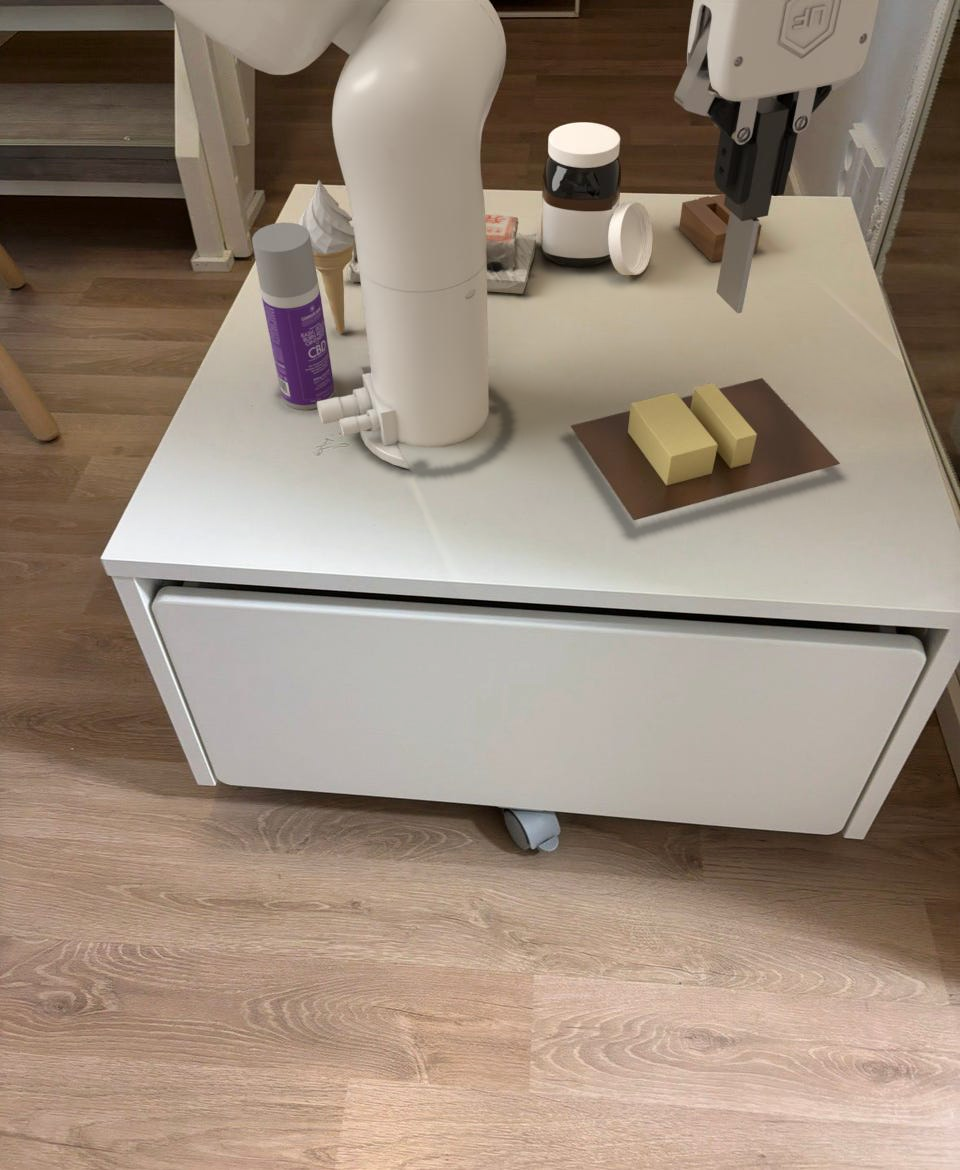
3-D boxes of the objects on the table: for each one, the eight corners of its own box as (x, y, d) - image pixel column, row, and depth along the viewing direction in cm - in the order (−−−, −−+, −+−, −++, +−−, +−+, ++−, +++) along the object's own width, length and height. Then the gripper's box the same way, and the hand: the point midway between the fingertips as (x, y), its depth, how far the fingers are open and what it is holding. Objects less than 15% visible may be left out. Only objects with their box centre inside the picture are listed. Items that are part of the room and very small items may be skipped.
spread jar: (543, 224, 110) (546, 113, 101) (649, 227, 109) (662, 116, 100) (536, 284, 102) (539, 170, 93) (651, 289, 101) (665, 174, 92)
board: (631, 534, 78) (633, 520, 77) (569, 439, 86) (570, 425, 84) (836, 477, 82) (840, 463, 81) (759, 391, 89) (762, 377, 88)
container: (325, 412, 88) (300, 254, 77) (274, 407, 89) (241, 249, 78) (341, 380, 92) (318, 224, 80) (291, 375, 92) (262, 219, 81)
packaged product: (340, 240, 99) (364, 190, 105) (346, 284, 102) (369, 234, 109) (526, 251, 96) (538, 200, 103) (525, 297, 100) (537, 245, 107)
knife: (727, 316, 72) (763, 116, 62) (706, 294, 74) (738, 97, 64) (752, 310, 73) (792, 110, 63) (730, 288, 75) (766, 91, 64)
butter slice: (730, 469, 80) (736, 439, 78) (688, 416, 85) (693, 387, 83) (750, 463, 81) (757, 433, 79) (708, 411, 85) (713, 382, 83)
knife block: (712, 263, 104) (717, 236, 101) (677, 228, 109) (681, 201, 106) (757, 253, 105) (763, 226, 103) (721, 219, 110) (725, 192, 107)
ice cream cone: (358, 354, 94) (338, 199, 83) (301, 345, 95) (274, 191, 84) (378, 320, 98) (362, 168, 87) (323, 313, 99) (300, 161, 88)
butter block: (666, 486, 79) (671, 456, 77) (627, 432, 84) (630, 402, 82) (712, 473, 80) (718, 444, 78) (671, 421, 85) (675, 391, 82)
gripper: (710, -107, 50) (667, 241, 63) (981, -146, 53) (885, 193, 67) (640, -144, 54) (614, 188, 68) (893, -177, 58) (820, 145, 72)
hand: (749, 188), depth 67 cm, fingers closed on knife, 2 cm apart
